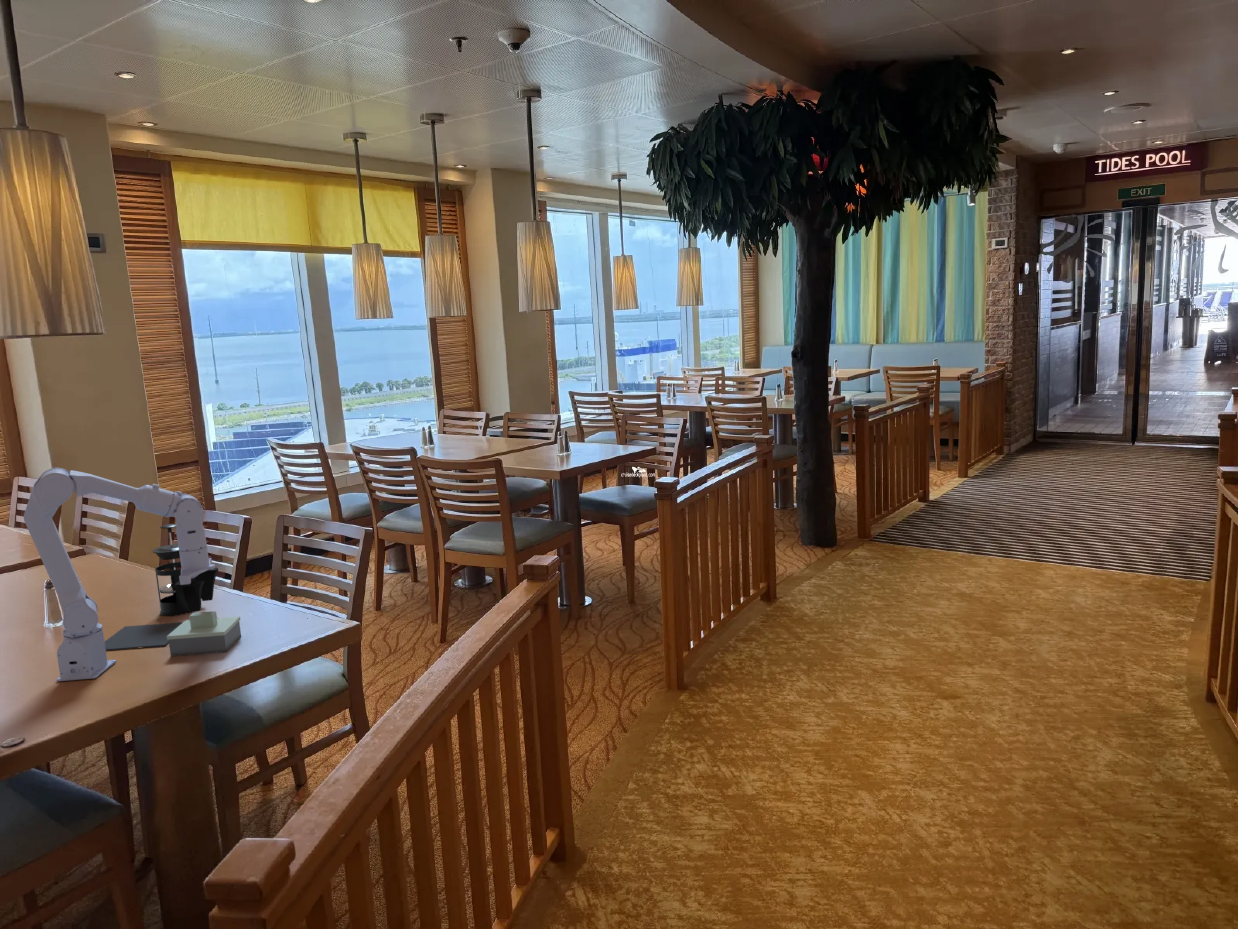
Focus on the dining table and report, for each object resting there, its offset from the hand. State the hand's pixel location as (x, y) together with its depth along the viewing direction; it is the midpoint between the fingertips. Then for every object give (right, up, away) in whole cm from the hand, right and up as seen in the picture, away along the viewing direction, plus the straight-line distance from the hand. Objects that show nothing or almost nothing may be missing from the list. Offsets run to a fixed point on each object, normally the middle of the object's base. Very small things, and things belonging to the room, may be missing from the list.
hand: (201, 605), depth 195 cm
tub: (+1, -10, +1) cm, 10 cm away
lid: (+1, -6, +1) cm, 6 cm away
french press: (-19, -6, +29) cm, 36 cm away
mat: (-18, -9, +9) cm, 22 cm away
